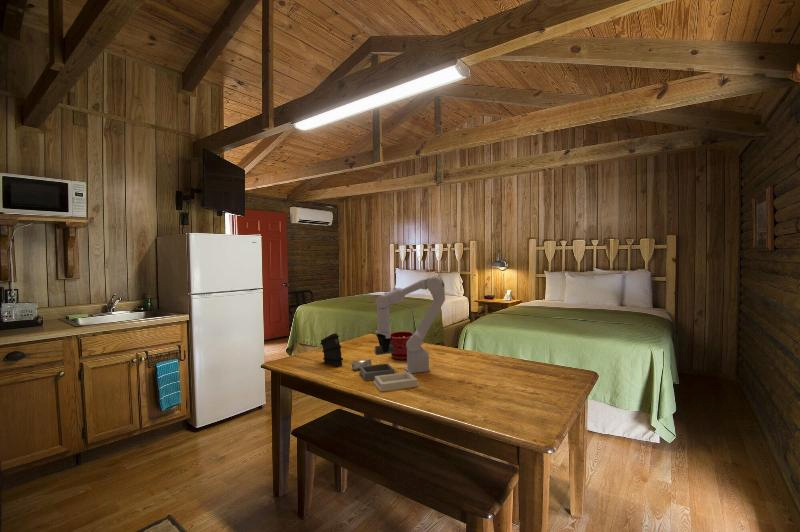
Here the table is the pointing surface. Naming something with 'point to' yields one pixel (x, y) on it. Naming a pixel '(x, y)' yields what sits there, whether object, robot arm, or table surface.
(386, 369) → the bin
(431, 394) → the table surface
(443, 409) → the table surface
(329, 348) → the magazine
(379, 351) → the cylinder
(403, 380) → the trough board
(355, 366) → the silver cell
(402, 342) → the plant pot
